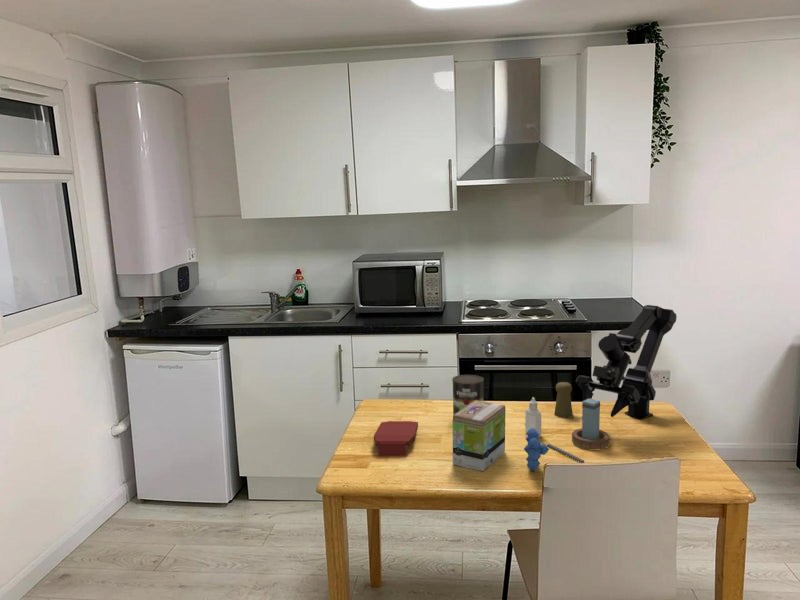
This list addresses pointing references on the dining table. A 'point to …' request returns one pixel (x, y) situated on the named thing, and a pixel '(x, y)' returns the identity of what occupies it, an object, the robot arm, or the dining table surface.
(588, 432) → the blue-gray square peg
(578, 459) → the thin gray square rod
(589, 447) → the bead ring
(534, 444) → the grapes
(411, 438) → the red lunch box
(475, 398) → the coffee can
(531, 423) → the eye dropper bottle
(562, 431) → the dining table surface
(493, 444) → the tea box
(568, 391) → the cork
